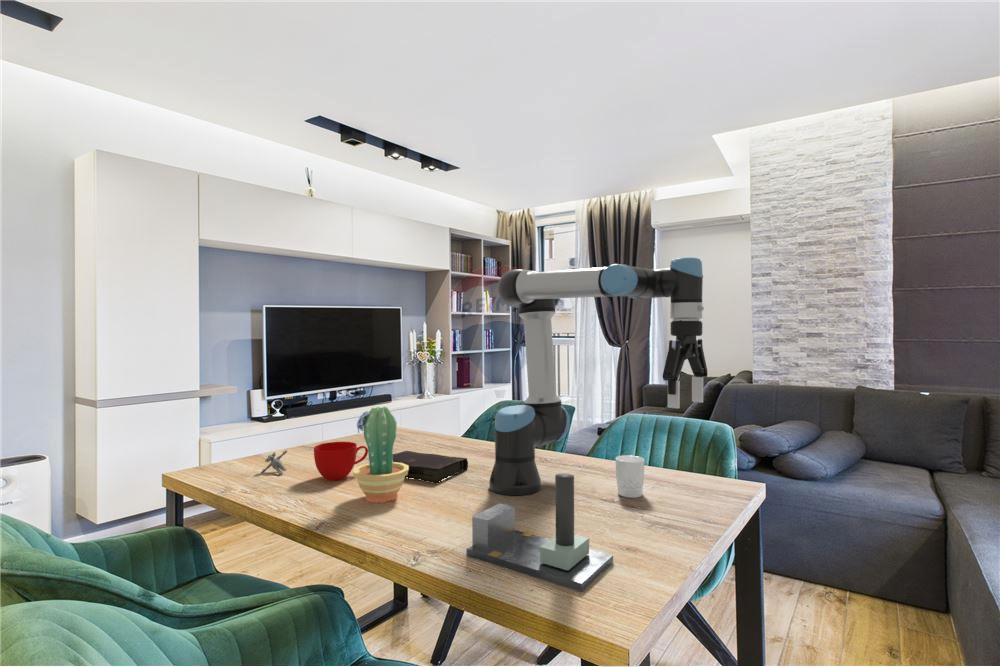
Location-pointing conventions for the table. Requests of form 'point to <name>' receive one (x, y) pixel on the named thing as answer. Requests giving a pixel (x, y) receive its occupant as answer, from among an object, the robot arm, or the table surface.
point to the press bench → (527, 550)
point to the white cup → (630, 475)
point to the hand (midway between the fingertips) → (686, 405)
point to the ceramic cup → (336, 459)
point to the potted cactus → (380, 457)
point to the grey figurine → (275, 463)
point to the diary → (430, 465)
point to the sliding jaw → (564, 529)
